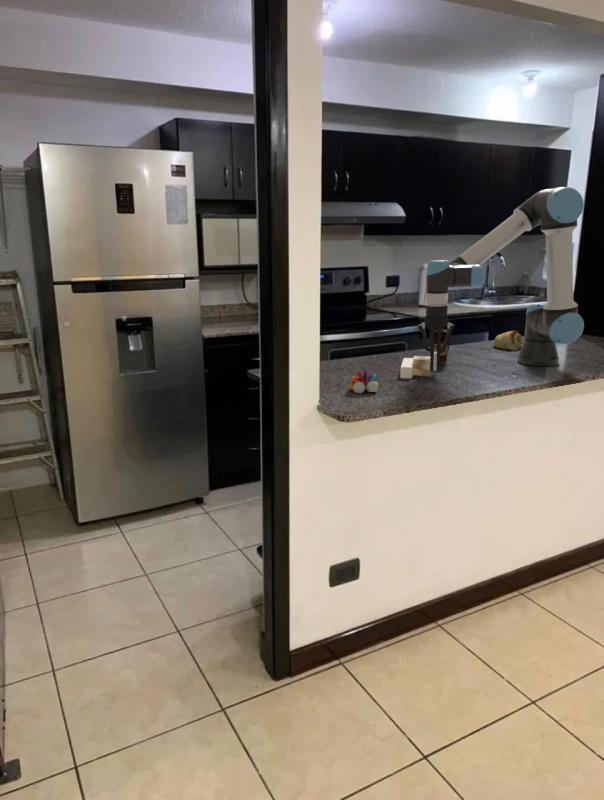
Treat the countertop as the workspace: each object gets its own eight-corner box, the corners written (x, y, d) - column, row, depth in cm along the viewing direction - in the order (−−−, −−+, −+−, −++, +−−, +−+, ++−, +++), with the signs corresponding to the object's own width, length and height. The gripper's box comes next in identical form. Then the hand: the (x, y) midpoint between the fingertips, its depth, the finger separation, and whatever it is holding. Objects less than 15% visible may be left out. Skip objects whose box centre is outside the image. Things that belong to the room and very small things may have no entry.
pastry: (524, 351, 256) (526, 332, 254) (494, 350, 259) (495, 332, 257) (520, 345, 270) (522, 327, 267) (492, 344, 272) (493, 327, 270)
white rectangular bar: (414, 368, 226) (414, 358, 225) (411, 378, 211) (412, 367, 210) (403, 368, 227) (403, 357, 226) (400, 377, 212) (400, 367, 211)
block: (429, 372, 220) (430, 356, 218) (429, 376, 214) (430, 359, 213) (413, 371, 221) (414, 355, 220) (412, 375, 216) (413, 359, 214)
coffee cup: (449, 365, 230) (451, 332, 227) (428, 364, 232) (429, 331, 228) (449, 360, 239) (451, 328, 235) (428, 360, 240) (429, 328, 237)
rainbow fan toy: (347, 388, 200) (347, 367, 198) (375, 387, 200) (376, 366, 198) (351, 395, 191) (352, 373, 189) (381, 394, 192) (381, 372, 190)
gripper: (455, 303, 212) (452, 368, 218) (419, 303, 215) (417, 367, 221) (455, 306, 205) (452, 372, 211) (418, 306, 208) (416, 371, 214)
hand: (434, 369), depth 216 cm, fingers closed
